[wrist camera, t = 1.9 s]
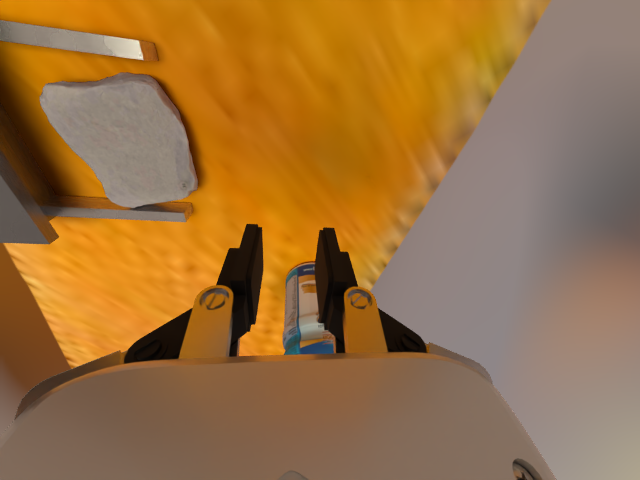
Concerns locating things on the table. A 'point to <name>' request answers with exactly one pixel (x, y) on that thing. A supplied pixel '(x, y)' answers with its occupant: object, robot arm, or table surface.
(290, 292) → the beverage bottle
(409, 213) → the table surface
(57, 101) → the stone block
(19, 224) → the steel lip bracket
